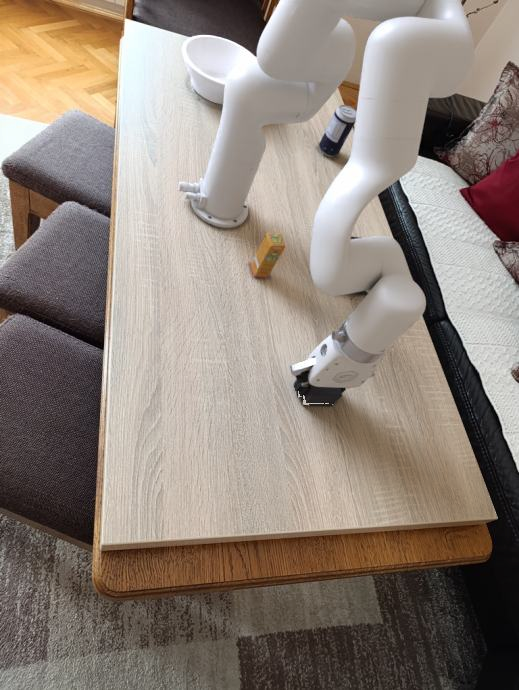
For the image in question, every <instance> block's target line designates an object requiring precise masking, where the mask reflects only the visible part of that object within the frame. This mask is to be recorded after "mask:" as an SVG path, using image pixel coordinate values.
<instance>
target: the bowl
mask: <svg viewBox="0 0 519 690" xmlns="http://www.w3.org/2000/svg"><path fill="white" fill-rule="evenodd" d="M181 52H182V56H183V62H184V65H185V67H186V68H185V69H186V70H187V72H188V74H189V75H190V82H191V86H192V88H193V89H194V90H195V92H196V93H197V94H198V95H199V96H201V97H202V98H203V99H205V100H207V101H210V102H212V103H214V104H218V105H223V101H224V89H225V82H226V78H227V76H228V74H229V72H230V71H231V70H232V69H233V68H234V67H236V66H237V65H240V64H242V63H248V62H257V56H255V55H254V53H252V52H251V51H249V49H247V48H246V47H244V46H242V45H240V44H238V43H237V42H235V41H232V40H230V39H227V38H224V37H220V36H216V35H209V34H198V35H193V36H191V37H189V38H187V39H186V40H185V41H184V42H183V45H181Z"/></svg>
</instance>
